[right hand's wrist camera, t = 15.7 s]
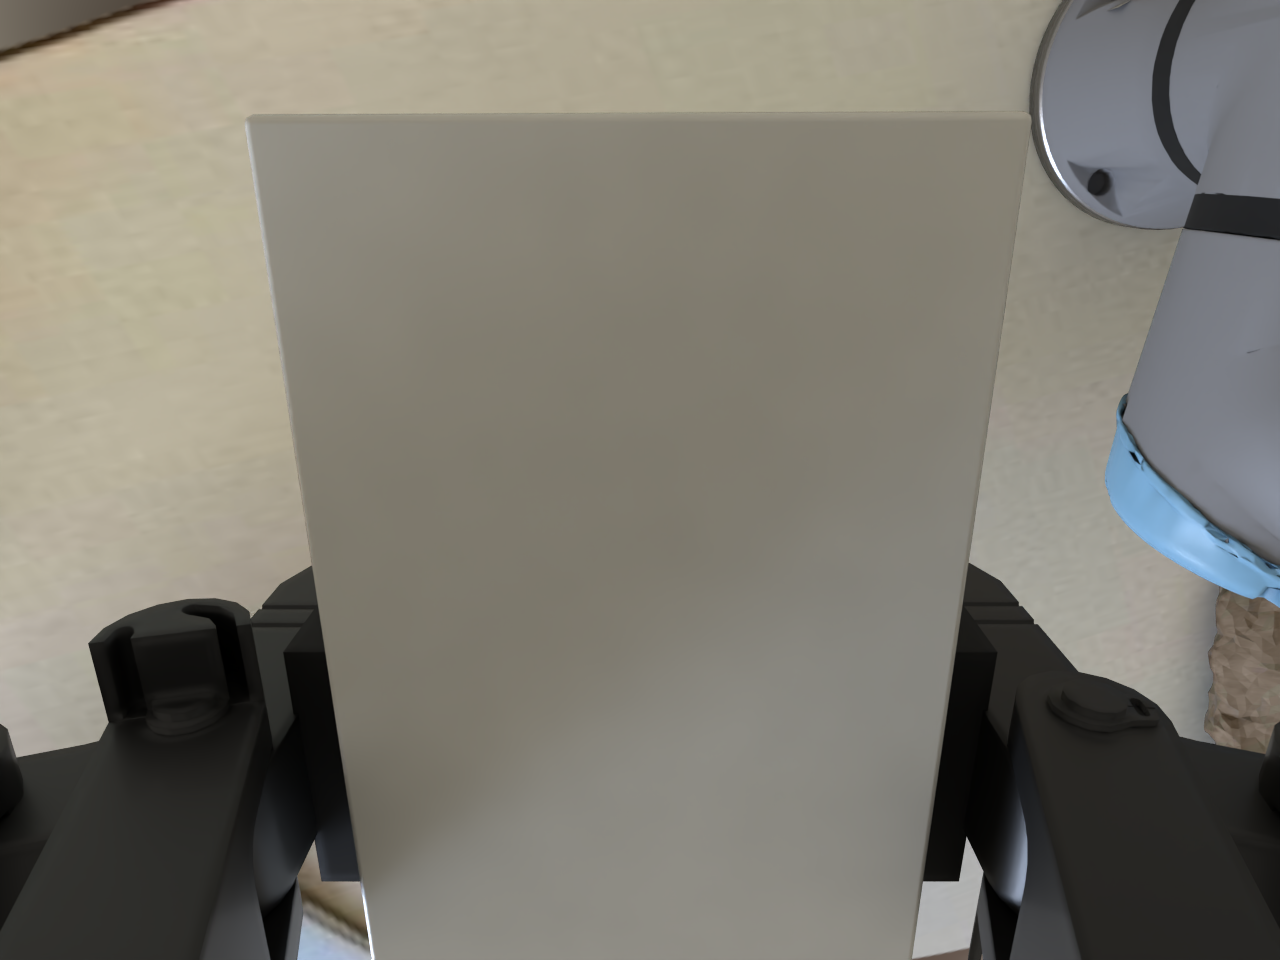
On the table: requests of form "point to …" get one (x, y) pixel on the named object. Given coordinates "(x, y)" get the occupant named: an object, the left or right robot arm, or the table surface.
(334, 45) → the table surface
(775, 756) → the beam
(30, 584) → the table surface
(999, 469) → the table surface
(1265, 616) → the stone
